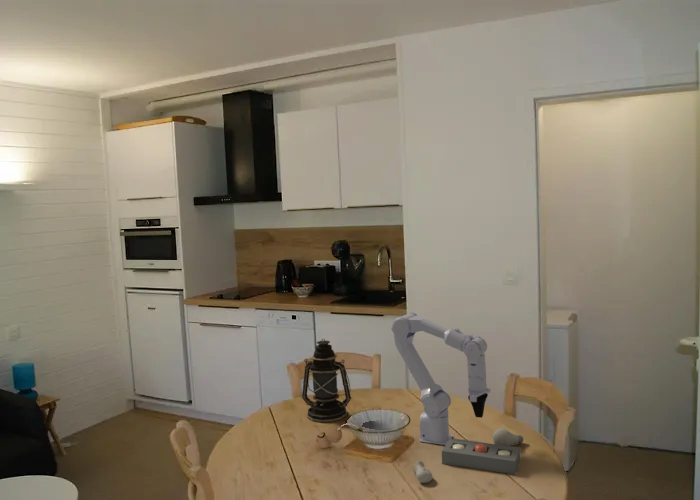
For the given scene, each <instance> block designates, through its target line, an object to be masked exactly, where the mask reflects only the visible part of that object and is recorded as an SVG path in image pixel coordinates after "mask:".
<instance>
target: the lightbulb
mask: <svg viewBox="0 0 700 500" xmlns="http://www.w3.org/2000/svg"><path fill="white" fill-rule="evenodd" d="M492 442H493V444H497V445H505V446H512V445H518V444H523V442H524V437H523V435H521V434H517V433H513V432H511V431H509V430H508V429H506V428H498V429H496V430H495V431H494V432H493V435H492Z"/></svg>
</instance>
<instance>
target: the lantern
mask: <svg viewBox="0 0 700 500" xmlns="http://www.w3.org/2000/svg"><path fill="white" fill-rule="evenodd" d="M330 342H331V341H330V340H325V338H322V339H321V340H319V341H316V344H317V345H316V346H315V350H314V352H313V355H312V356H311V357H310V360H309V359H308V358H304V359H303V361H304V362H305V366H304V374H303V381H302V393H301V399H302V400H303V401H304V403H305V404H306V406H309V408H307V414H306V415H307V418H308V419H309V420H310V421H312V422H315V423H316V422H317V423H333V422H337V421H340V420H342V419H343V418H346V416H347V415H348V411H347V406H348V404H349V403H350V402H351V400H352V396H351V392H352V390H351V382H350V378H349V376H348V372H347V370H346V367H345V364H344V363H345V359H344V358H343V359H340V361H336V359H337V356H338V354H337V353H335V351H334V349H332V347H333V346H332V344H330ZM338 371H340V372H339V373H340V376H341V381H342V386H343V390H344V393H343V394H341V396H345V399H344V400H343V401H341V400H339V399H340V394H339V393H338V392H339V388H338V378H337V377H338V374H339V373H337V372H338ZM310 373H312V374H311V377H312V384H313V385H312V387H313V389H311V388H310V385H309V383H310V382H309V378H310ZM308 391H311V392H312V393H314V395H313V397H312V400H311V399H310V398H309V396H308ZM313 400H314V401H313Z"/></svg>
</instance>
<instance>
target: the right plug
mask: <svg viewBox="0 0 700 500" xmlns="http://www.w3.org/2000/svg"><path fill="white" fill-rule="evenodd" d="M498 455H504V456H510V452H509V451H507V450H500V451H498Z"/></svg>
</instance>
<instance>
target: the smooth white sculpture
mask: <svg viewBox="0 0 700 500" xmlns="http://www.w3.org/2000/svg"><path fill="white" fill-rule="evenodd" d="M413 474H414V475H415V477H416V479H417V481H418V482H419V483H421V484H428V483H430V482H432V479H433V474H432V472H431V471H430V469H428V468H426V467H425V464H424V462H423V461H422V460H419V461H417V462H416V463H415V464H414V466H413Z"/></svg>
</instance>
